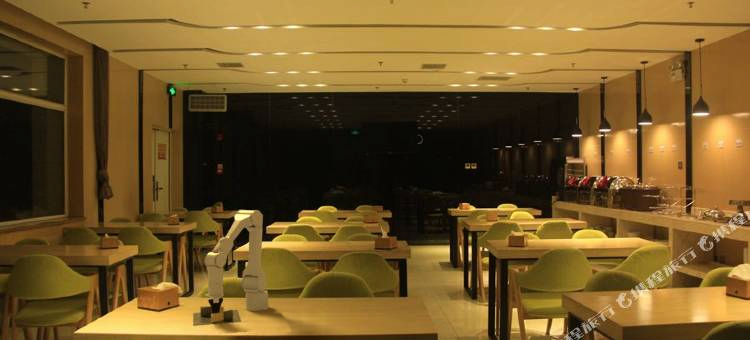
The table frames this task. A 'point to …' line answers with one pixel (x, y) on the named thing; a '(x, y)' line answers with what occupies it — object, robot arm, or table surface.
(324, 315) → the table surface
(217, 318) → the knob
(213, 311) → the robot arm
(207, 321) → the levelling plate
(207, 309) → the knob
